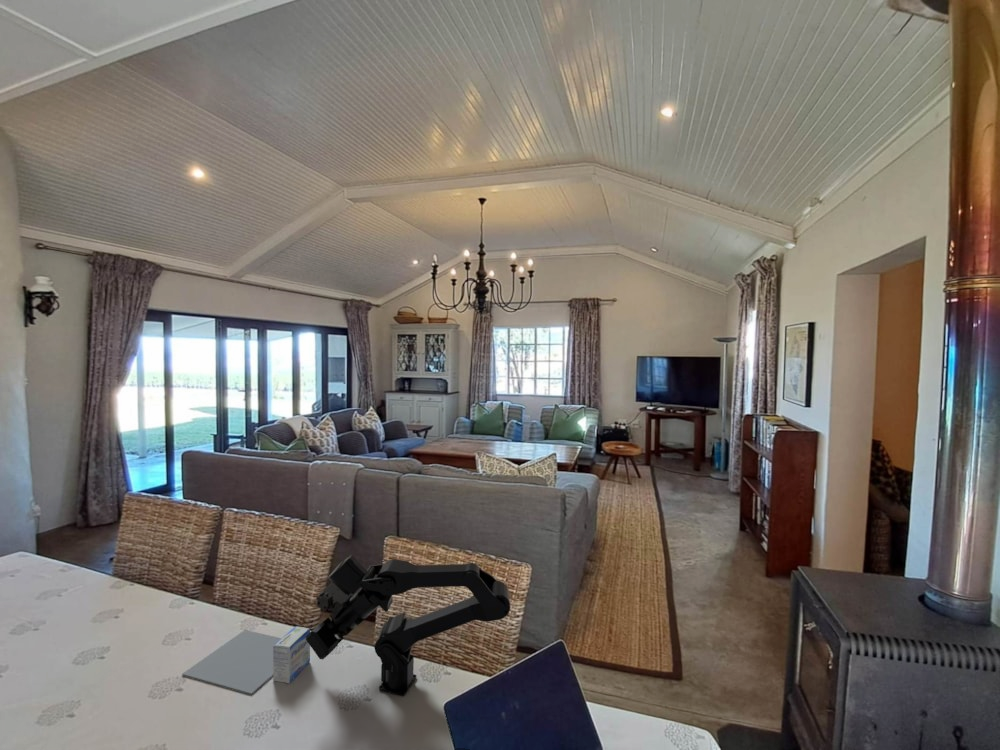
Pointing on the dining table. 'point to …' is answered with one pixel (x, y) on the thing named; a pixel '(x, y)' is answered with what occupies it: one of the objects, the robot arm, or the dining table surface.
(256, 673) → the mat
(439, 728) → the dining table surface
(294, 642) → the medicine box
